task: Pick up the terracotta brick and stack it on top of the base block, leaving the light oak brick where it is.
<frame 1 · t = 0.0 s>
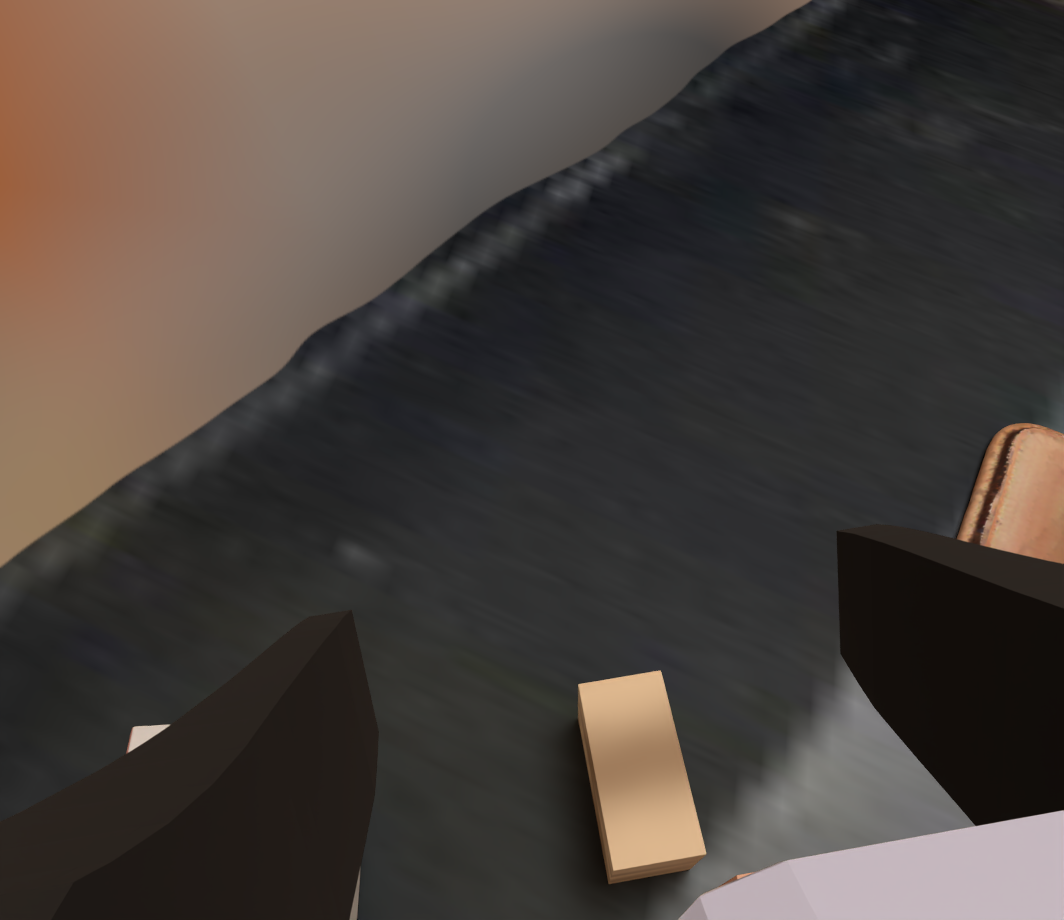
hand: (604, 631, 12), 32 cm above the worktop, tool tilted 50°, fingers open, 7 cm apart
light oak brick: (630, 790, 41), on the worktop
small box: (299, 870, 39), on the worktop
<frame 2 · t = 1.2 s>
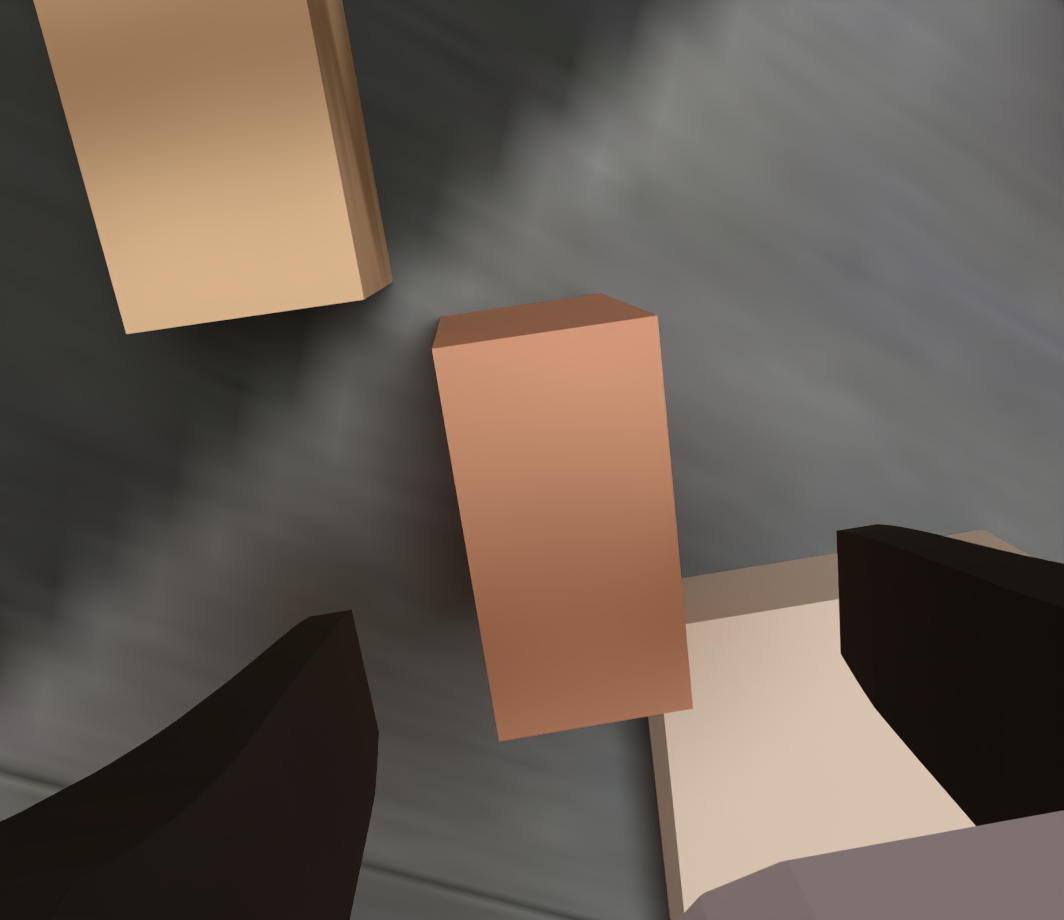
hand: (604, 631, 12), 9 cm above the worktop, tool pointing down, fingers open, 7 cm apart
terracotta brick: (542, 458, 21), on the worktop
base block: (811, 732, 24), on the worktop
light oak brick: (273, 115, 18), on the worktop
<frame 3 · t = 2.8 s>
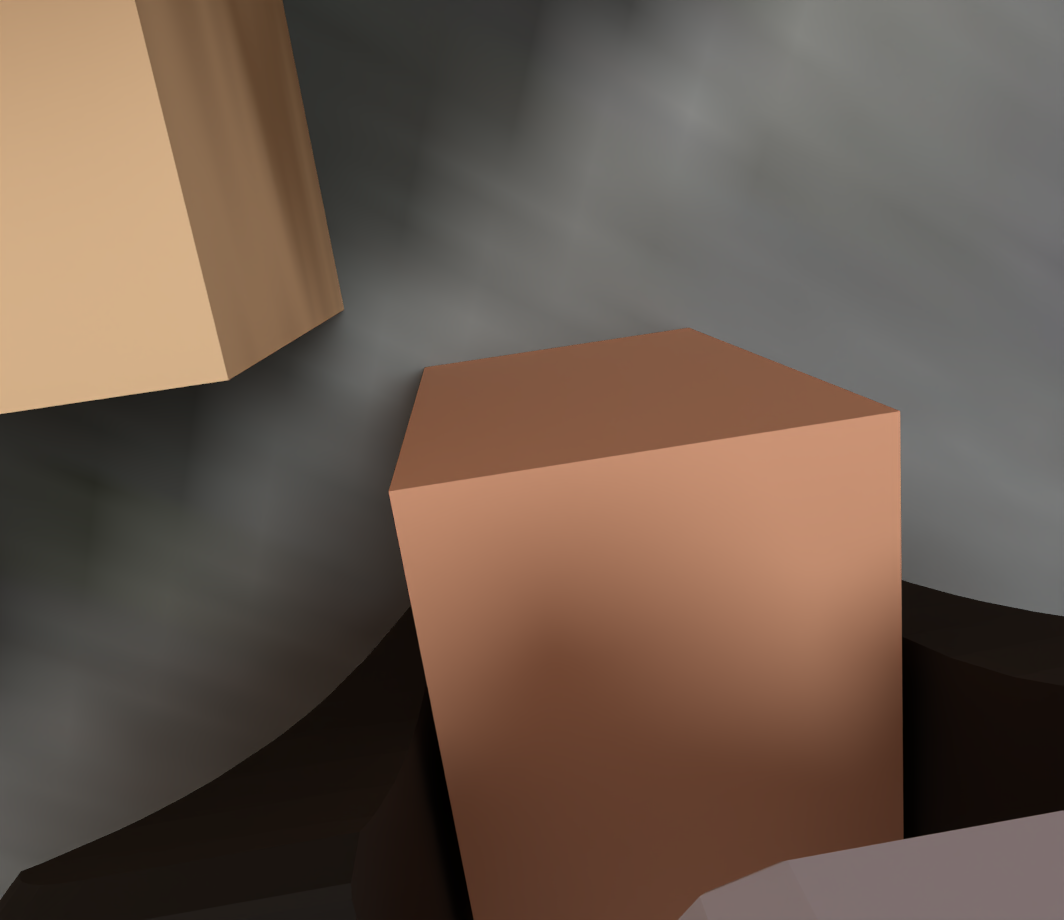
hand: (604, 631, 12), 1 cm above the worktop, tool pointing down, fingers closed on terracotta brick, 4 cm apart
terracotta brick: (589, 590, 13), on the worktop, touching gripper
light oak brick: (129, 22, 10), on the worktop
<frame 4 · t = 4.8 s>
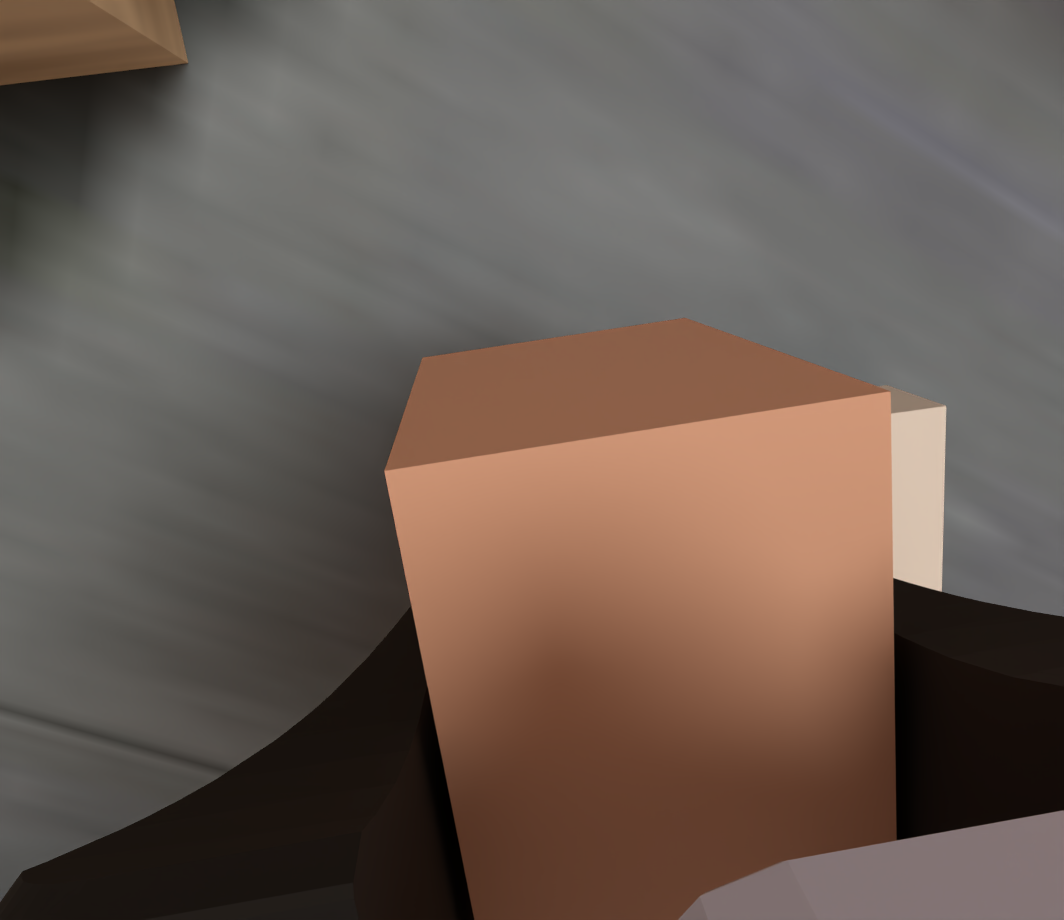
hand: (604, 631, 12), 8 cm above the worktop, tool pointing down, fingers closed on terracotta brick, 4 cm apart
terracotta brick: (586, 579, 13), point 7 cm above the worktop, touching gripper
base block: (699, 622, 22), on the worktop
when the fingers open (6 cm above the worktop, at t = 6.5 s): terracotta brick drops 2 cm, resting on base block.
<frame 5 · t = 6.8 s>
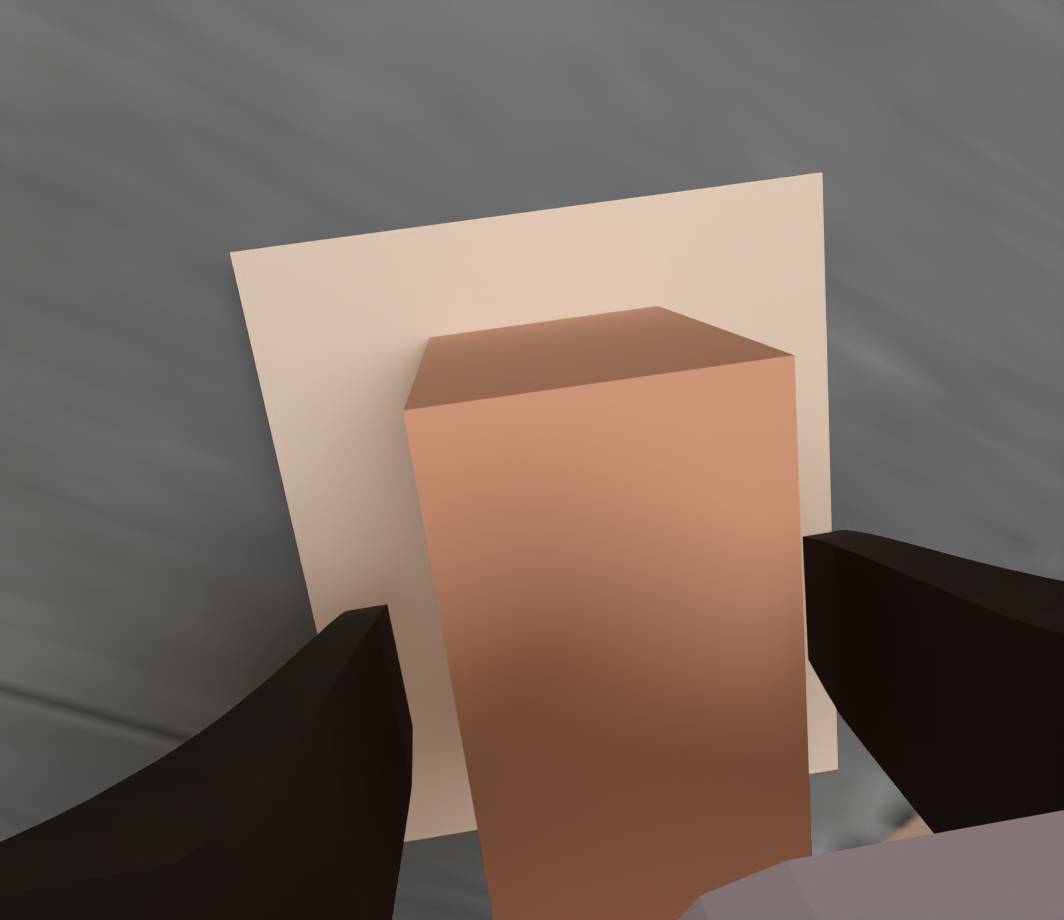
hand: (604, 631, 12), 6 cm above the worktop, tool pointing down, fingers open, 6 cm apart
terracotta brick: (570, 535, 15), point 2 cm above the worktop, touching base block
base block: (554, 493, 18), on the worktop, touching terracotta brick
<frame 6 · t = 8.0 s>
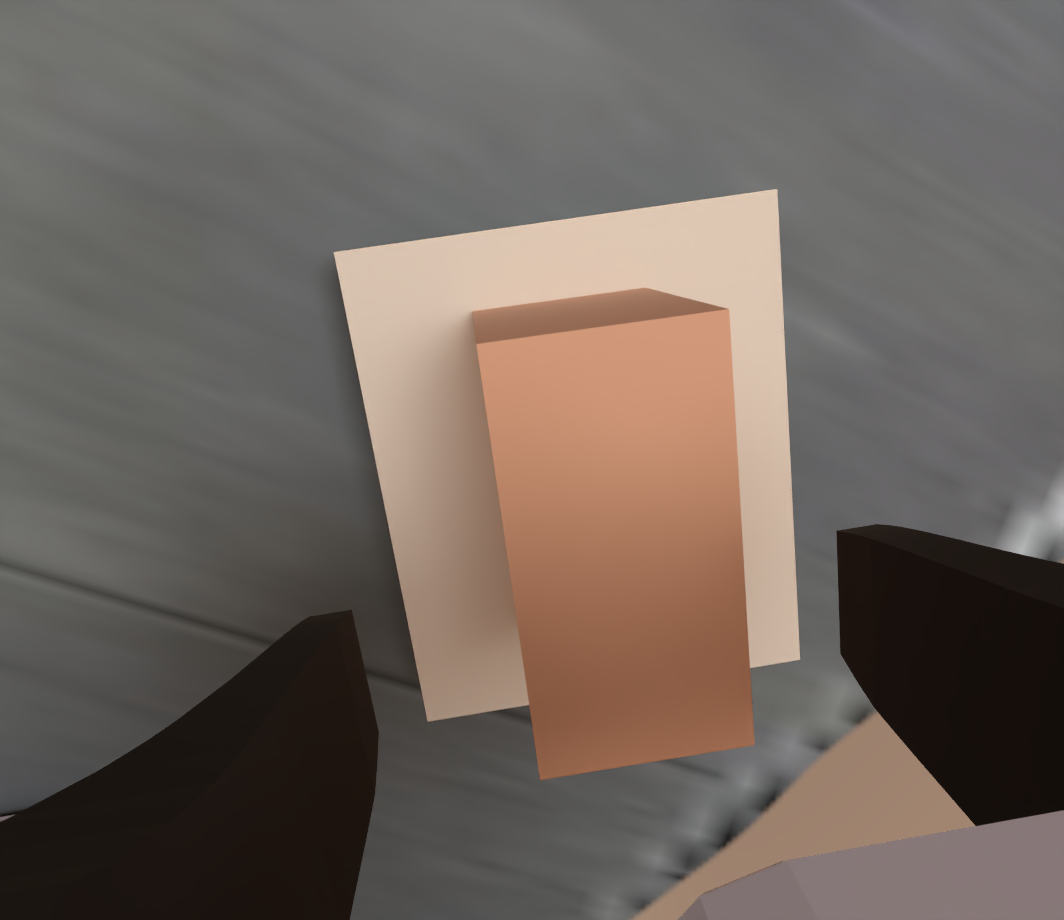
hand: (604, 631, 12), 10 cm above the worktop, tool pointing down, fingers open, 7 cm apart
terracotta brick: (578, 465, 19), point 2 cm above the worktop, touching base block
base block: (573, 444, 22), on the worktop, touching terracotta brick
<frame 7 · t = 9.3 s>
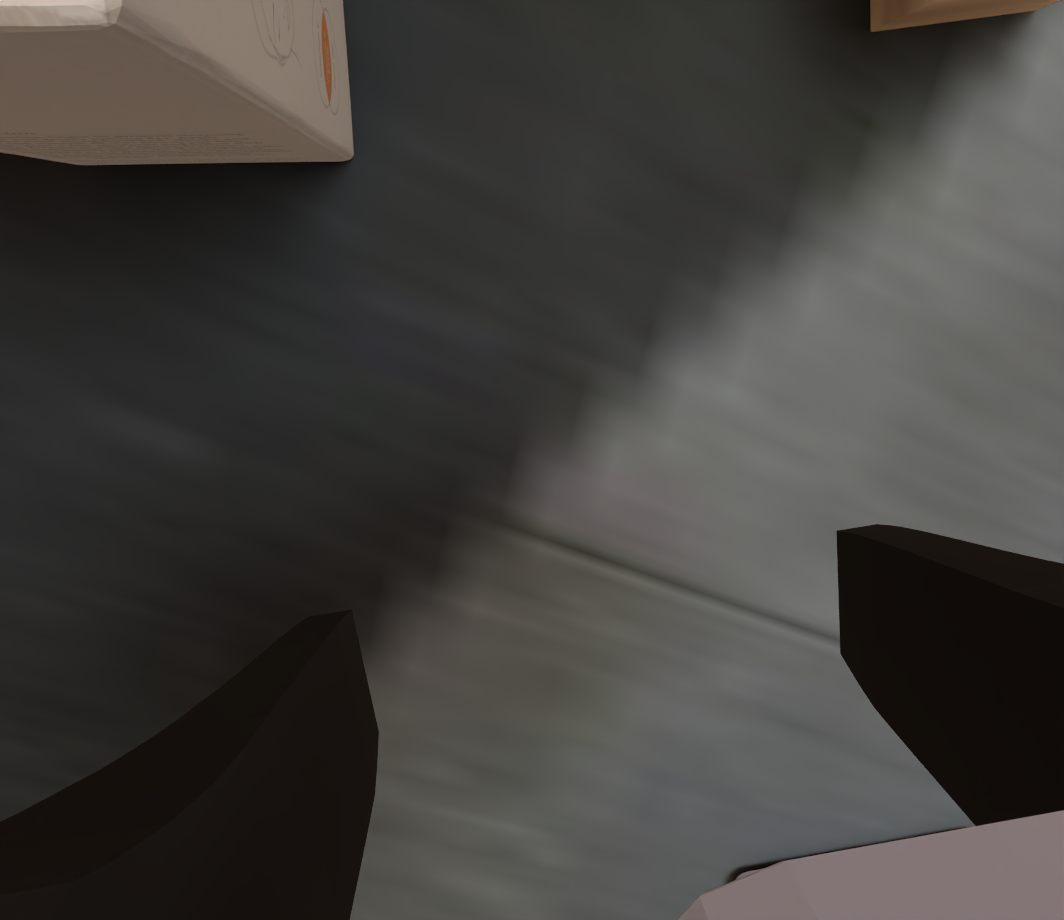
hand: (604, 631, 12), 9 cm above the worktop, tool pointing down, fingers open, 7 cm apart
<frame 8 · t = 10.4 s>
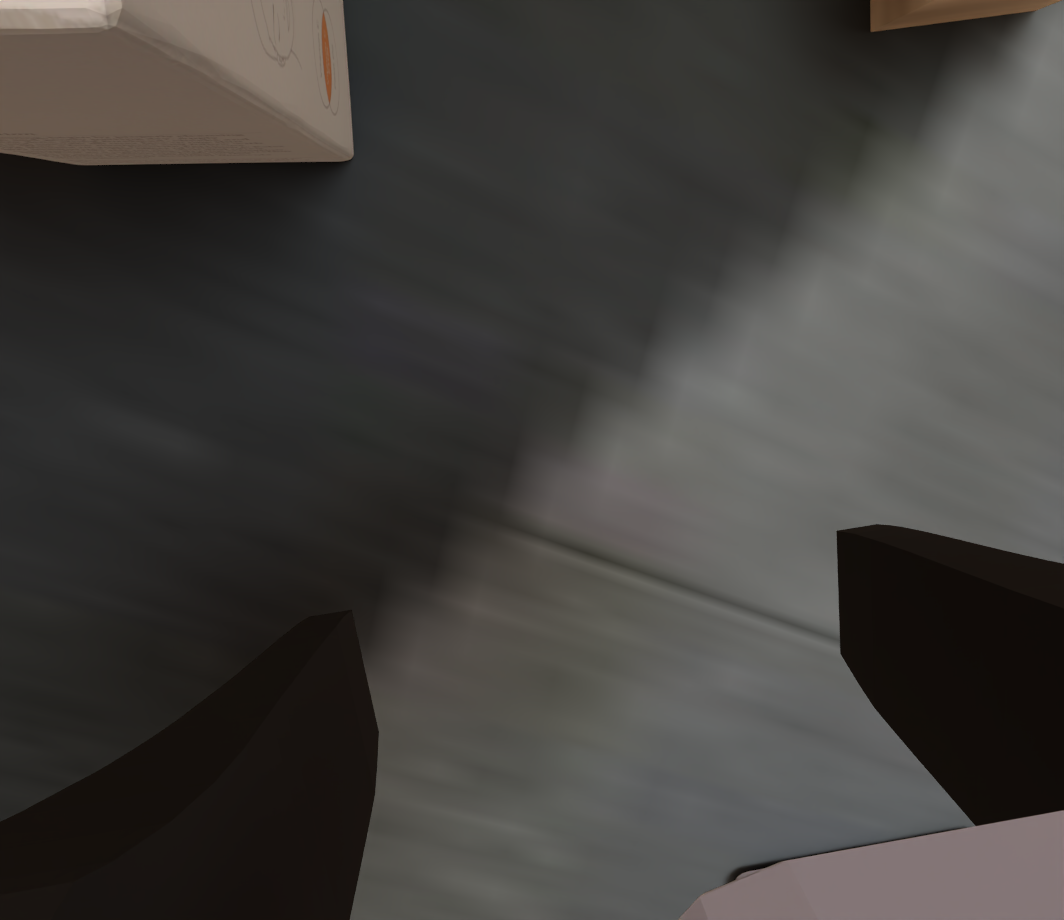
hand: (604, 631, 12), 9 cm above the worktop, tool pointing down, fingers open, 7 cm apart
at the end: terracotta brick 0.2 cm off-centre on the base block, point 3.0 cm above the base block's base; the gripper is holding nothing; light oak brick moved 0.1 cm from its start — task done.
